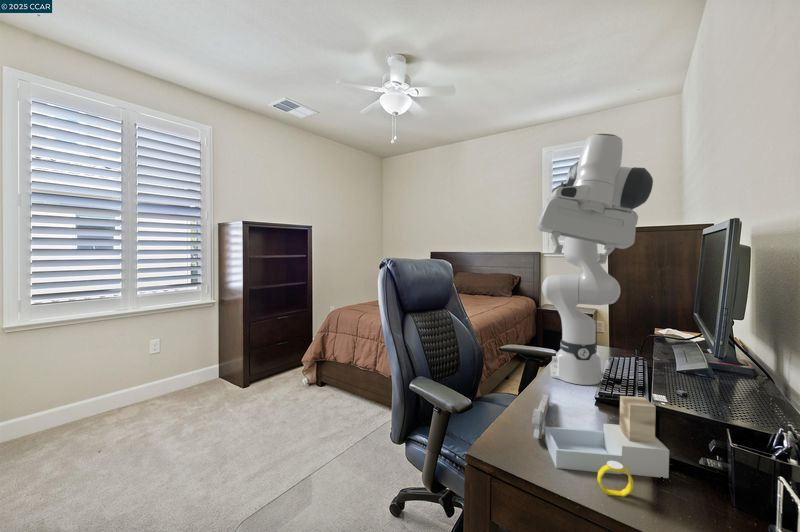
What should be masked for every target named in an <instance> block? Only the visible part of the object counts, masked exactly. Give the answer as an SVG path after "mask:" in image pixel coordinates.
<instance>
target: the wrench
mask: <svg viewBox="0 0 800 532" xmlns="http://www.w3.org/2000/svg"><path fill="white" fill-rule="evenodd" d="M549 405H550V395H548V394H543V395H542V398H541V401H540V402H539V406H538V407H537V408H533V412H532V419H531V420H532V421H531V426H533V439H534V440H540V439H542V434H543V427H544V421H545V418H546V416H547V413H548V408H549Z"/></svg>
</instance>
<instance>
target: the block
mask: <svg viewBox="0 0 800 532" xmlns="http://www.w3.org/2000/svg"><path fill="white" fill-rule="evenodd" d="M656 408H657V407H656V405H654V404H653V403H651V402H650V400H648V399H647V398H646V397H644V396H630V395H629V396H628V395H627V396H626V395H620V396H619V425H620V426H619V430H620V431H621V432H622V433H623V434H624V435H625V437H626V438H627V439H628V440H629V441H636V442H648V443H655V437H656V411H657V410H656Z"/></svg>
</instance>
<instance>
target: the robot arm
mask: <svg viewBox="0 0 800 532" xmlns="http://www.w3.org/2000/svg"><path fill="white" fill-rule="evenodd" d="M584 142H585V143H584V145H583V146H582V147H583V148H582V149H581V152H580V156H579V159H578V161H577V162H575V163H574V164H573V165H572V166H571V167H570V168H569V170H568V172H567V175H566V182H565V183H564V181H562V182H561V183H560V184H559V185H557V186H556V187H554V188H553V189H552V191H551V193H550V196H549V198H548V202H547V204H546V205H545V206H544V207H543V208H542V210H541V212H540V214H539V215H540V216H539V218H538V222H537V225H536V226H537V229H538V230H539V232H544V233H547V234H551V235H550V239H551V242H552V245H553V250H552V253H553V254H558V255H560V254H562V252H563V257H564V259H565V260H566V261H567V262H568V263H569V264H570V265H573V266H576V267H578V268H579V269H580V270H581V271H582V273H580V274H577V273H575V274H574V273H569V274H568V273H566V274H565V273H559V274H553V275H547V276H546V277H545V278H544V280H543V282H542V284H541V292H542V295H543V297H544V298H545V299H546V300H547V301H548V302H550V303H551V304H552V305H553V306H554V308H555V309H556V311H557V312H558V314H559V317H560V320H561V330H562V331H561V333H562V335H561V337H562V338H561V339H560V343H559V344H560V346H559V350H558V351H557V353H555V355H552V356H551V362H552V363H550V364H549V369H550V371H549V373H550V377H551V378H552V379H553V378H554V379H557V380H561V381H563V382H565V383H566V382H567V383H571V384H575V385H584V386H594V385H598V384H599V383H601V382H602V381H601V379H602V376H603V375H602V361H601V360H602V359H601V357H600V356H599V355H598V354H597V353H598V351H597V349H598V346H597V342H596V334H597V333H596V329H597V327H596V326H597V325H596V321H595V320H594V318H592V317H591V316H590V315H588V314H586V313H584V312H582V311H580V310H579V309H578V307H577V305H589V306H590V305H591V306H605V305H606V306H607V305H612V304H615V303H616V302H617V301H618V300H619V298H620V295H621V286H620V283H619V282H618V280H617V279H616V278H615V277H613V276H612V275H610V274H609V273H608V272H607V271H606V270H605V268H604V267H603V266H602V265H605V264H606V263H607V259H608V256H609V255H610V254H611V253H612V252H613V251H614V250H615V249H616V248H617V249H620V250H625V249H628V248H630V247H632V246H633V245H634V244H635V240H636V229H637V228H636V226H637V224H638V220H639V215H638V213H637V212H636V211H634V209H636V208H638V207H641V206H642V205H643V204H645V203H646V202H647V201H648V199H649V197H650V195H651V194H652V189H653V185H654V179H653V177H652V175H651V173H650V172H649V171H648V170H647V168H645V167H637V166H636V167H633V166H632V167H627V166H621V164H622V158H623V139H622V138H621V137H620V136H618V135H616V134H611V133H596V134H592V135H589V136H588V137H587V138H586V140H585V141H584ZM560 236H562V237H564V239H563V241H564V242H563V243H564V244H563V245H561V243H560V242H559V238H560ZM598 245H601V246H603V250H605V251H604V252H603V253H602V254H601V253H599V251H598ZM600 381H601V382H600Z"/></svg>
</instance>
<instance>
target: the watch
mask: <svg viewBox="0 0 800 532" xmlns="http://www.w3.org/2000/svg"><path fill="white" fill-rule="evenodd" d="M609 470H612V471H614V472H622V471H623V472H625V473H626V474H625V475H627V476H628V478H627V479H628V483H627V485H626V486H625V488H624V489H622V490H614V489H608V488H606V487H605V486H604V485H603V484H602V482H603V481H602V480H603V476H604V475H605V474H606V473H605V472H607V471H609ZM596 480H597V482H598V485H599V486H600V487H599V488H600V489H601V490H602V491H603V492H604V493H605V494H606V495H607V496H615V497H616V496H617V497H622V498H625V497H627V496H628V495H630V494H631V493H632V491H633V489H634V488H635V487H634V479H633V477H632V475H631V474H629V472H628V471H627V470H626V469H625V468H624V467H623V465H622V464H621V463H619V462H616V461H608V462H607V465H605V466H603V467H601V469H600V470H599V471H598V472H597V478H596Z"/></svg>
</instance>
